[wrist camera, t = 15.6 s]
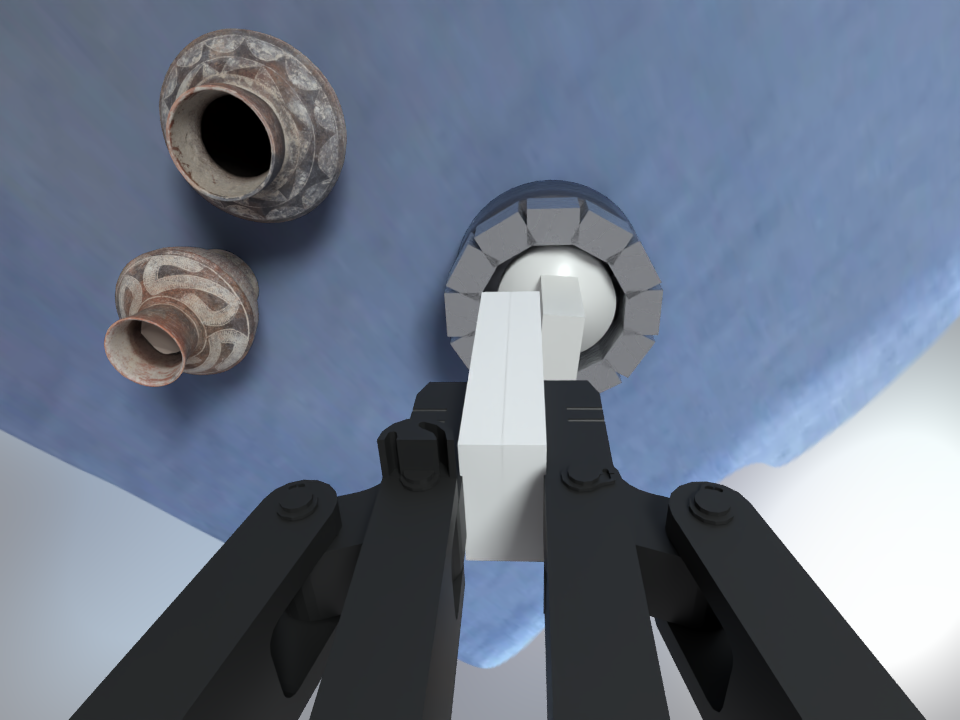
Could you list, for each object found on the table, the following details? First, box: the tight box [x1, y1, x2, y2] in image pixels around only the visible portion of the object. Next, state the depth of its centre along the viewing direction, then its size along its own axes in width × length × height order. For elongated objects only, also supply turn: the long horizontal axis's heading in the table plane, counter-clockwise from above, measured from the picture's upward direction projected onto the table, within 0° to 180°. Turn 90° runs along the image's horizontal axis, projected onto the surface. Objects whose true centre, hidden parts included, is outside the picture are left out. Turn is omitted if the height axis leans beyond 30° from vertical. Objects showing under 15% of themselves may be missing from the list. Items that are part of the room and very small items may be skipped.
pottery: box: [104, 29, 347, 387], centre depth 42 cm, size 11×25×12 cm, turn 151°
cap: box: [498, 245, 616, 380], centre depth 40 cm, size 8×8×8 cm
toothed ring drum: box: [444, 180, 663, 393], centre depth 45 cm, size 14×14×8 cm
